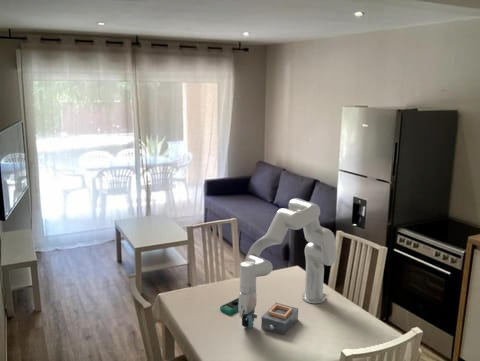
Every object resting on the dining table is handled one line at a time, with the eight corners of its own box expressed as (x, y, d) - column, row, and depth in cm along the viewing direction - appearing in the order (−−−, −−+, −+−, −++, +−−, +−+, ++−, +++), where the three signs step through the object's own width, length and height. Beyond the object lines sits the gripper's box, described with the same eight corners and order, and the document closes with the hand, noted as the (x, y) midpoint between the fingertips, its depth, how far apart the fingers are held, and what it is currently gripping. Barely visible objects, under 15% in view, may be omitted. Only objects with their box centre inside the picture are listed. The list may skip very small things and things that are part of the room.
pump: (245, 321, 207) (245, 307, 206) (258, 324, 204) (258, 311, 202) (240, 326, 203) (240, 312, 201) (253, 329, 200) (253, 316, 198)
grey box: (275, 313, 217) (275, 299, 216) (297, 319, 212) (298, 305, 210) (259, 330, 202) (259, 315, 200) (283, 337, 196) (283, 322, 195)
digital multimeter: (249, 305, 226) (249, 300, 225) (229, 316, 215) (229, 310, 215) (239, 301, 231) (239, 296, 230) (219, 311, 220) (219, 305, 220)
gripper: (249, 279, 209) (249, 313, 213) (231, 293, 194) (232, 330, 198) (263, 282, 205) (263, 317, 209) (246, 297, 191) (246, 334, 195)
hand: (248, 323), depth 204 cm, fingers closed on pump, 5 cm apart
